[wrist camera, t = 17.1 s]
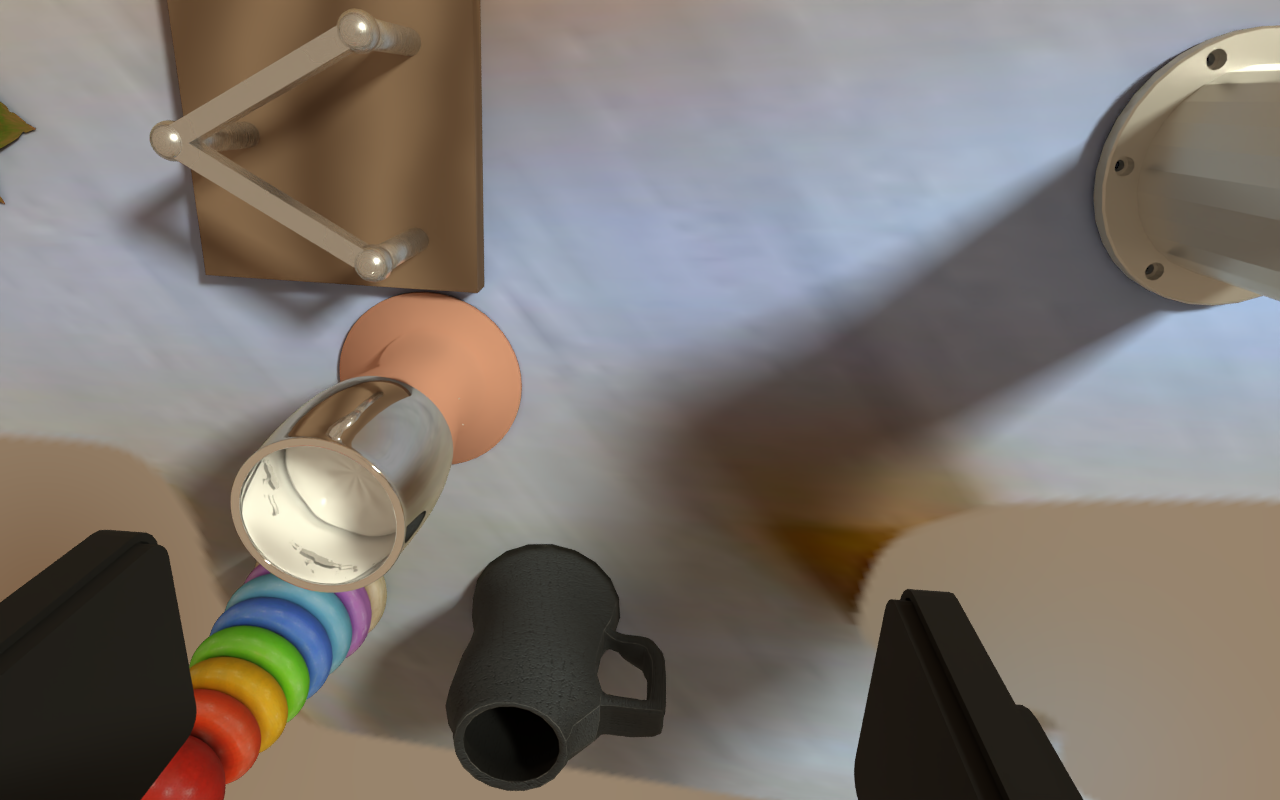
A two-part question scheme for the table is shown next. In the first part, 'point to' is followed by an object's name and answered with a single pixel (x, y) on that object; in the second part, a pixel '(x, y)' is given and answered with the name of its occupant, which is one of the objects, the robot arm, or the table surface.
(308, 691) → the stacking toy
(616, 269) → the table surface
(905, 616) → the robot arm
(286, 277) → the board
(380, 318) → the pad
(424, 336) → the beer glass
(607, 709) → the mug
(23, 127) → the lily flower
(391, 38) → the bent wire
